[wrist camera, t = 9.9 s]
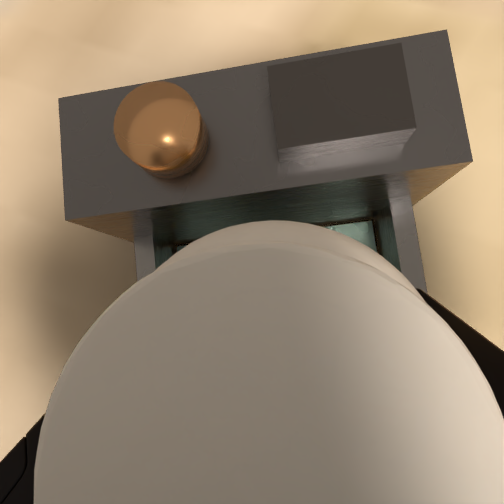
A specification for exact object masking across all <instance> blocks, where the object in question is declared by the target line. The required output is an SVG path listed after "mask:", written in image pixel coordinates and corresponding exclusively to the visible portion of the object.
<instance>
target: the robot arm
mask: <svg viewBox="0 0 504 504" xmlns="http://www.w3.org/2000/svg"><path fill="white" fill-rule="evenodd" d="M415 289H416V290H417V291H418V293H419V294H420V295H421V296H422V298H423V299H424V301H425V302H426V303H427V304H428V305H429V306H430V307H431V308H432V309H433V310H434V311H435V312H436V313H437V314H438V315H439V316H440V317H441V318H442V319H443V320H444V321H445V322H446V323H447V324H448V325H449V326H450V328H451V329H452V330H453V331H454V332H455V334H456V335H457V336H458V337H459V338H460V339H461V340H462V342H463V343H464V344H465V346H466V347H467V349H468V350H469V352H470V353H471V355H472V356H473V358H474V359H475V361H476V362H477V364H478V366H479V368H480V369H481V371H482V373H483V374H484V376H485V378H486V379H487V381H488V383H489V385H490V387H491V389H492V391H493V394H494V396H495V398H496V401H497V403H498V405H499V408H500V410H501V413H502V416H503V419H504V351H503V350H501V349H500V348H499V347H497V346H496V345H495V344H493V343H492V342H491V341H489V340H488V339H487V338H485V337H484V336H483V335H481V334H480V333H479V332H477V331H476V330H475V329H473V328H472V327H471V326H469V325H468V324H467V323H465V322H464V321H463V320H461V319H460V318H459V317H457V316H456V315H455V314H453V313H452V312H451V311H449V310H448V309H447V308H445V307H444V306H443V305H441V304H440V303H439V302H437V301H436V300H435V299H433V298H432V297H431V296H429V295H428V294H427V293H425V292H424V291H423V290H421V289H419V288H415ZM45 414H46V413H45ZM45 414H44V415H43V416H42V417H41V418H40V419H39V421H38V422H37V423H36V424H35V425H34V426H33V427H32V428H31V429H30V430H29V432H28V433H27V434H26V437H23V438H22V439H21V440H20V441H19V442H18V443H17V445H16V446H15V447H14V448H13V449H12V450H11V451H10V452H9V453H8V454H7V455H6V456H5V457H4V459H3V460H2V461H1V462H0V504H34V468H35V461H36V454H37V448H38V442H39V437H40V431H41V426H42V423H43V420H44V417H45Z"/></svg>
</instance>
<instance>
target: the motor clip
mask: <svg viewBox="0 0 504 504" xmlns="http://www.w3.org/2000/svg"><path fill="white" fill-rule="evenodd" d="M58 99H59V117H60V135H61V153H62V171H63V189H64V207H65V220H66V221H69V222H72V223H75V224H79V225H82V226H85V227H88V228H91V229H94V230H97V231H100V232H103V233H106V234H109V235H112V236H115V237H118V238H121V239H124V240H127V241H131V242H134V245H135V258H136V271H137V281H139V280H141V279H142V278H144V277H146V276H147V275H149V274H151V273H153V272H154V271H155V270H156V269H157V268H158V267H159V266H161V265H162V264H163V263H164V262H165V261H167V260H168V259H169V258H170V257H172V256H173V255H174V254H175V253H176V247H175V245H177V244H185V243H192V242H194V241H196V240H198V239H200V238H202V237H204V236H206V235H208V234H210V233H213V232H215V231H218V230H220V229H224V228H227V227H230V226H234V225H239V224H244V223H249V222H258V221H269V220H277V221H294V222H301V223H308V224H312V225H317V226H319V225H327V224H334V223H341V222H349V221H356V220H364V219H371V218H373V220H374V226H375V233H376V239H377V245H378V251H379V255H381V256H382V257H384V258H385V259H386V260H387V261H388V262H390V263H391V264H392V265H393V266H394V267H395V268H396V269H397V270H399V271H400V272H401V273H402V274H403V275H404V276H405V277H406V278H407V280H408V281H409V282H410V283H411V284H412V285H413V286H414V288H419V289H421V290H423V291H424V292H425V293H427V288H426V282H425V277H424V271H423V265H422V259H421V254H420V248H419V242H418V236H417V231H416V225H415V219H414V214H413V208H412V206H413V205H414V204H416V203H417V202H418V201H420V200H421V199H423V198H424V197H425V196H427V195H428V194H429V193H431V192H432V191H433V190H435V189H436V188H437V187H439V186H440V185H441V184H443V183H444V182H446V181H447V180H448V179H450V178H451V177H452V176H454V175H455V174H456V173H458V172H459V171H460V170H462V169H463V168H465V167H466V166H467V165H469V164H470V163H471V162H473V159H472V154H471V149H470V144H469V139H468V134H467V129H466V124H465V119H464V114H463V109H462V104H461V99H460V94H459V88H458V83H457V78H456V73H455V68H454V63H453V58H452V53H451V48H450V43H449V38H448V33H447V30H442V31H437V32H431V33H425V34H420V35H414V36H408V37H403V38H397V39H391V40H386V41H380V42H374V43H369V44H363V45H357V46H352V47H346V48H340V49H335V50H329V51H323V52H318V53H312V54H306V55H301V56H295V57H289V58H284V59H278V60H272V61H267V62H261V63H255V64H250V65H244V66H238V67H233V68H227V69H221V70H216V71H210V72H204V73H199V74H193V75H187V76H182V77H176V78H170V79H165V80H159V81H153V82H148V83H142V84H136V85H131V86H125V87H119V88H114V89H108V90H102V91H97V92H91V93H85V94H80V95H74V96H69V97H63V98H58ZM324 228H327V229H331V230H334V231H336V232H339V233H342V234H344V235H346V236H349V237H351V238H353V239H355V240H357V241H358V242H360V243H362V244H364V245H366V246H368V247H369V248H371V249H372V250H374V251H375V252H377V250H376V244H375V238H374V231H373V225H372V221H365V222H357V223H350V224H342V225H335V226H327V227H324ZM186 246H187V245H185V246H178V247H177V252H178V251H180V250H181V249H183V248H184V247H186Z"/></svg>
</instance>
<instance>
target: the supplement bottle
mask: <svg viewBox="0 0 504 504" xmlns="http://www.w3.org/2000/svg"><path fill="white" fill-rule="evenodd" d="M34 504H504V419H503V416H502V413H501V410H500V408H499V405H498V403H497V401H496V398H495V396H494V394H493V391H492V389H491V387H490V385H489V383H488V381H487V379H486V378H485V376H484V374H483V373H482V371H481V369H480V368H479V366H478V364H477V362H476V361H475V359H474V358H473V356H472V355H471V353H470V352H469V350H468V349H467V347H466V346H465V344H464V343H463V342H462V340H461V339H460V338H459V337H458V336H457V335H456V334H455V332H454V331H453V330H452V329H451V328H450V326H449V325H448V324H447V323H446V322H445V321H444V320H443V319H442V318H441V317H440V316H439V315H438V314H437V313H436V312H435V311H434V310H433V309H432V308H431V307H430V306H429V305H428V304H427V303H426V302H425V301H424V299H423V298H422V296H421V295H420V294H419V293H418V291H417V290H416V289H415V288H414V286H413V285H412V284H411V283H410V282H409V281H408V280H407V278H406V277H405V276H404V275H403V274H402V273H401V272H400V271H399V270H397V269H396V268H395V267H394V266H393V265H392V264H391V263H390V262H388V261H387V260H386V259H385V258H384V257H382V256H381V255H379V254H378V253H377V252H375V251H374V250H372V249H371V248H369V247H368V246H366V245H364V244H362V243H360V242H358V241H357V240H355V239H353V238H351V237H349V236H346V235H344V234H342V233H339V232H336V231H334V230H331V229H327V228H324V227H321V226H317V225H312V224H308V223H301V222H294V221H277V220H269V221H258V222H249V223H244V224H239V225H234V226H230V227H227V228H224V229H220V230H218V231H215V232H213V233H210V234H208V235H206V236H204V237H202V238H200V239H198V240H196V241H194V242H192V243H190V244H189V245H187V246H186V247H184V248H183V249H181V250H180V251H178V252H177V253H175V254H174V255H173V256H172V257H170V258H169V259H168V260H167V261H165V262H164V263H163V264H162V265H161V266H159V267H158V268H157V269H156V270H155V271H154V272H153V273H151V274H149V275H147V276H146V277H144V278H142V279H141V280H139V281H137V282H136V283H135V284H134V285H132V286H131V287H130V288H129V289H127V290H126V291H125V292H124V293H123V294H121V295H120V296H119V297H118V298H117V299H116V300H115V301H114V302H113V303H112V304H111V305H110V306H109V307H108V308H107V309H106V310H105V311H104V312H103V313H102V314H101V315H100V316H99V318H98V319H97V320H96V321H95V322H94V323H93V324H92V326H91V327H90V328H89V329H88V331H87V332H86V333H85V335H84V336H83V337H82V338H81V340H80V341H79V343H78V344H77V346H76V347H75V349H74V350H73V352H72V354H71V355H70V357H69V359H68V360H67V362H66V364H65V365H64V368H63V370H62V372H61V374H60V377H59V379H58V381H57V383H56V386H55V388H54V390H53V393H52V395H51V398H50V401H49V404H48V407H47V410H46V414H45V417H44V420H43V423H42V426H41V431H40V437H39V442H38V448H37V454H36V461H35V468H34Z"/></svg>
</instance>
